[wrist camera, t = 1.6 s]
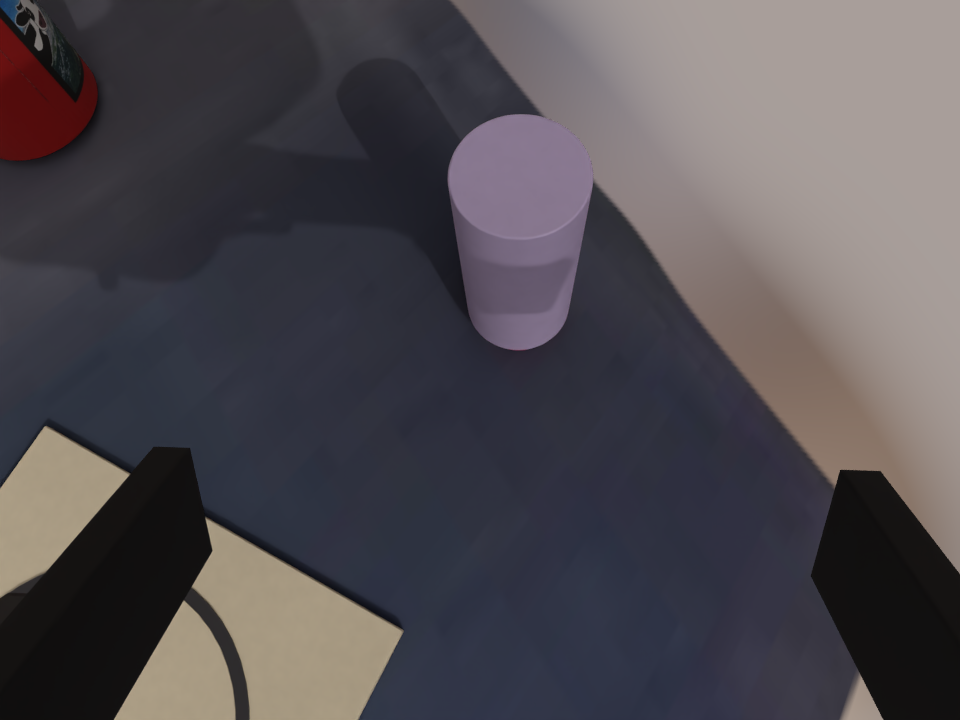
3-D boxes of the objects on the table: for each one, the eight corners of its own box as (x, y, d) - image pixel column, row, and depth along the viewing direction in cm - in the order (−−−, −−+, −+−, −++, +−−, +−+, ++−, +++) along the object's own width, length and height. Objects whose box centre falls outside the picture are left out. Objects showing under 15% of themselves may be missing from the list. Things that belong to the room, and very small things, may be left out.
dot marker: (583, 293, 32) (617, 144, 21) (540, 376, 30) (554, 262, 20) (496, 254, 32) (488, 93, 22) (452, 334, 31) (421, 203, 21)
